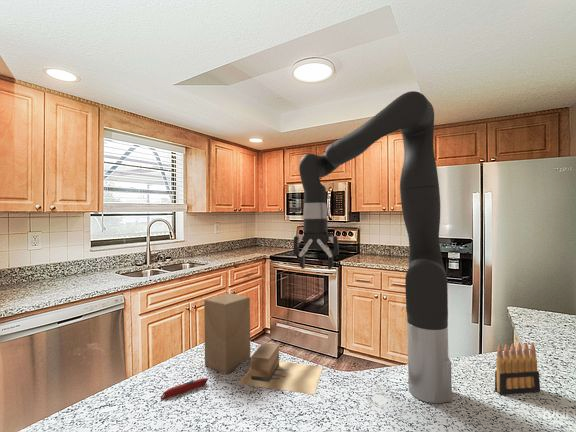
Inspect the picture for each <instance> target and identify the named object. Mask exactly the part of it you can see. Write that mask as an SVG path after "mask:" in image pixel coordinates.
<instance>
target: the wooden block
mask: <svg viewBox="0 0 576 432" xmlns="http://www.w3.org/2000/svg"><path fill="white" fill-rule="evenodd" d="M203 303H204V304H203V306H204V307H203V311H204V313H203V314H204V318H203V319H204V324H203V325H204V326H203V327H204V328H203V329H204V365H205V366H206V367H209V368H210V369H212V370H215V371H217V372H219V373H220V374H221V373H222V374H224V375H229V374H230V373H232V372H234V371H236V369H237V368H238V367H239V366H240V365H241V363H243V362H244V361H247V360H249V359H251V299H250V297H249V296H245V295H240V294H235V293H224V294H220V295H217V296H212V297H208V298H205V299H204V301H203Z"/></svg>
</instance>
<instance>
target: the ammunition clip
mask: <svg viewBox="0 0 576 432" xmlns="http://www.w3.org/2000/svg"><path fill="white" fill-rule="evenodd" d="M536 351H537V349H536V346H535V344H534V342H531V343H530V345H528V343H527V342H525V343H524V344H523V348H522V345H521V342H518V343H517V346H515V344H514V343H511V345H510V347H509V345H508V343H506V344H504V349H503V347H502V344H501V343H499V344H498V345H497V352H496V353H497V354H496V364H495V365H496V366H495V368H496V370H495V371H494V391H495V392H497V393H498V394H499V395H501V396H503V395H506V396H507V395H519V394H520V395H521V394H531V393H532V394H533V393H541V383H540V371H538V360H537V353H536Z"/></svg>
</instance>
